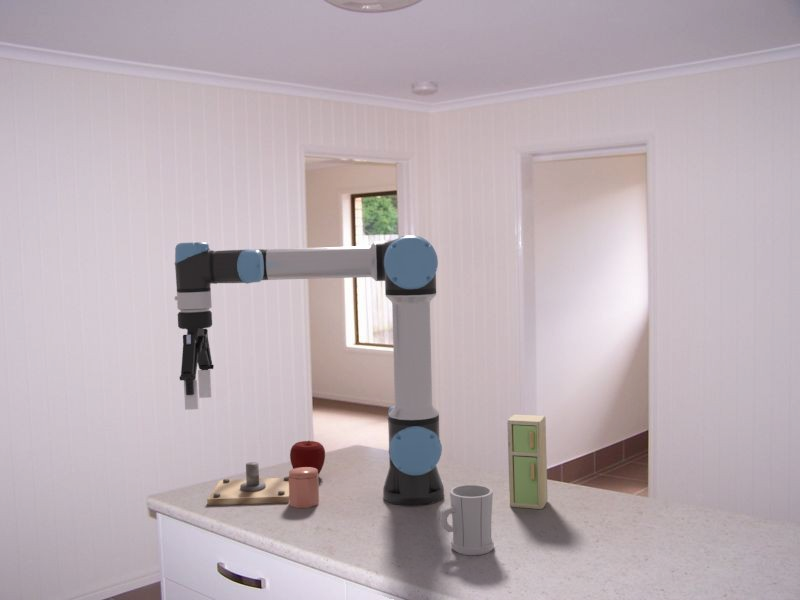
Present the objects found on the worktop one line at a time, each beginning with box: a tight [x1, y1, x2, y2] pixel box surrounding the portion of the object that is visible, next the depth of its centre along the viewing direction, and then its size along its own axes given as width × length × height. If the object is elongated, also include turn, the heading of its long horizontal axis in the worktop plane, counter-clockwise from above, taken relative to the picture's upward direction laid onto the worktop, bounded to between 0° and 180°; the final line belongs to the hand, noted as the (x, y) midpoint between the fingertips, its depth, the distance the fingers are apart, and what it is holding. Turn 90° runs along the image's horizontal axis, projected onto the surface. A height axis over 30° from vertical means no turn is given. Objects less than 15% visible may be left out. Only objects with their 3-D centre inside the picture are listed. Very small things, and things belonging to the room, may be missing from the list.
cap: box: [288, 467, 320, 509], centre depth 192 cm, size 7×7×8 cm
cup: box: [439, 484, 495, 556], centre depth 160 cm, size 10×9×12 cm
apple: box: [289, 440, 326, 475], centre depth 214 cm, size 10×10×10 cm
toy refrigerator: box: [507, 413, 549, 510], centre depth 186 cm, size 8×7×21 cm
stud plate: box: [206, 461, 290, 506], centre depth 201 cm, size 20×16×8 cm
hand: (198, 403), depth 178 cm, fingers open, 13 cm apart
